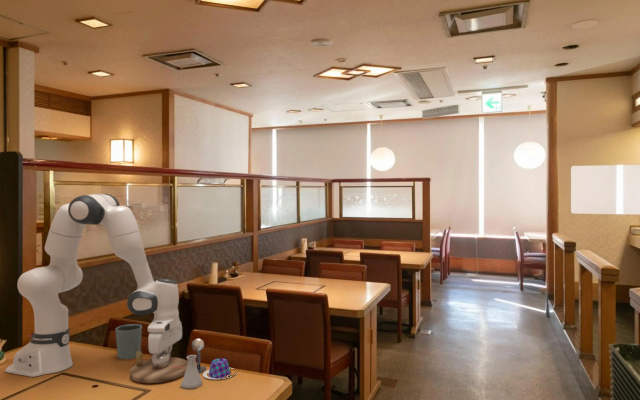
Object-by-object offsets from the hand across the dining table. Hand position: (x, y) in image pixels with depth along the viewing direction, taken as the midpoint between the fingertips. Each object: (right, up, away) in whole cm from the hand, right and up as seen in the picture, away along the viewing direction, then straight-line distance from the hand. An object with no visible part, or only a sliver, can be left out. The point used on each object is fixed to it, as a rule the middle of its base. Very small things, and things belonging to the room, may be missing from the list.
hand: (166, 358), depth 169 cm
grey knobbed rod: (+13, -4, -2) cm, 14 cm away
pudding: (+21, -4, -5) cm, 22 cm away
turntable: (-1, -4, -5) cm, 7 cm away
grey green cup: (-20, -4, +14) cm, 25 cm away
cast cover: (-1, -1, -5) cm, 5 cm away
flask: (+14, -4, -15) cm, 21 cm away
